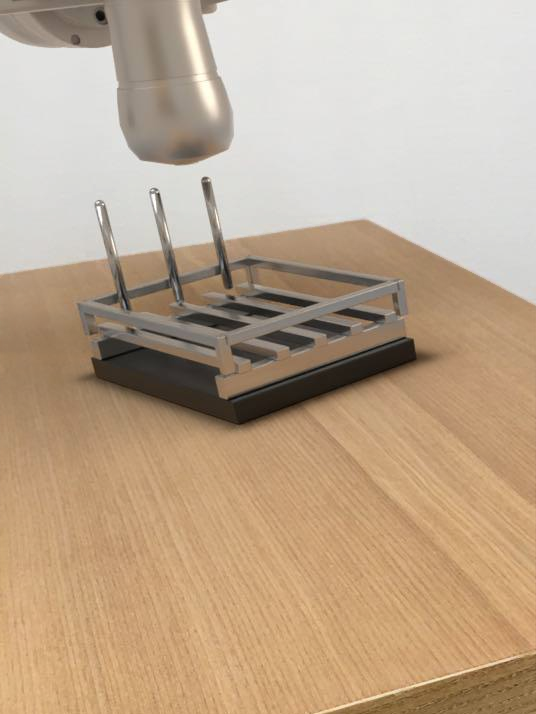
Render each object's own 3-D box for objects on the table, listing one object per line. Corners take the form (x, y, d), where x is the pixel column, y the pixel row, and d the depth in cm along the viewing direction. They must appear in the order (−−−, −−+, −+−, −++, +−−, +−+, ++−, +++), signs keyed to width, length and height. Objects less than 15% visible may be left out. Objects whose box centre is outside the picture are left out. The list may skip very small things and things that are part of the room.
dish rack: (95, 376, 74) (49, 208, 69) (263, 323, 81) (231, 168, 77) (238, 424, 63) (194, 229, 59) (417, 358, 70) (390, 180, 66)
